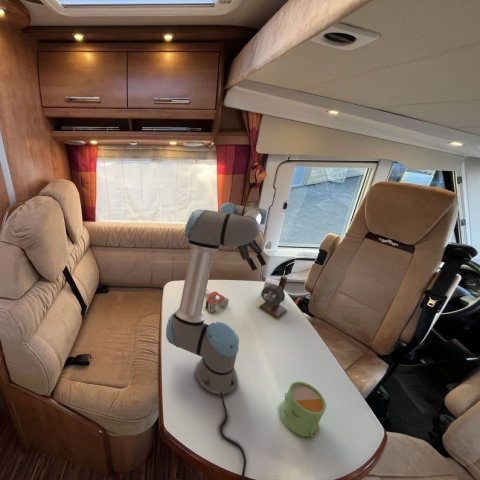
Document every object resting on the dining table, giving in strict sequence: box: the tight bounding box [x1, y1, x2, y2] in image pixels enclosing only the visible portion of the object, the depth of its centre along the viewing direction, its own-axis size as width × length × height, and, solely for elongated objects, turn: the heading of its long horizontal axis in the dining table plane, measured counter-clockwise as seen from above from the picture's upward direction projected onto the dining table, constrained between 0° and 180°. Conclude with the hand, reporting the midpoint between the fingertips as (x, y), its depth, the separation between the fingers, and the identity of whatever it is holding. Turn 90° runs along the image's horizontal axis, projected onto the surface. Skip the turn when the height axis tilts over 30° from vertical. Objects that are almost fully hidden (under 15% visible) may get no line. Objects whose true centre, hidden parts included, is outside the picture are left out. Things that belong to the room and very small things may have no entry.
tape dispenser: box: [205, 288, 230, 313], centre depth 133 cm, size 18×5×20 cm
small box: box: [262, 277, 280, 298], centre depth 138 cm, size 8×6×10 cm
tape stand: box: [259, 275, 288, 319], centre depth 123 cm, size 18×10×20 cm, turn 127°
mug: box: [280, 380, 327, 438], centre depth 76 cm, size 13×10×12 cm
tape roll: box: [261, 284, 286, 306], centre depth 122 cm, size 10×4×10 cm, turn 38°
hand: (259, 267), depth 123 cm, fingers open, 8 cm apart
